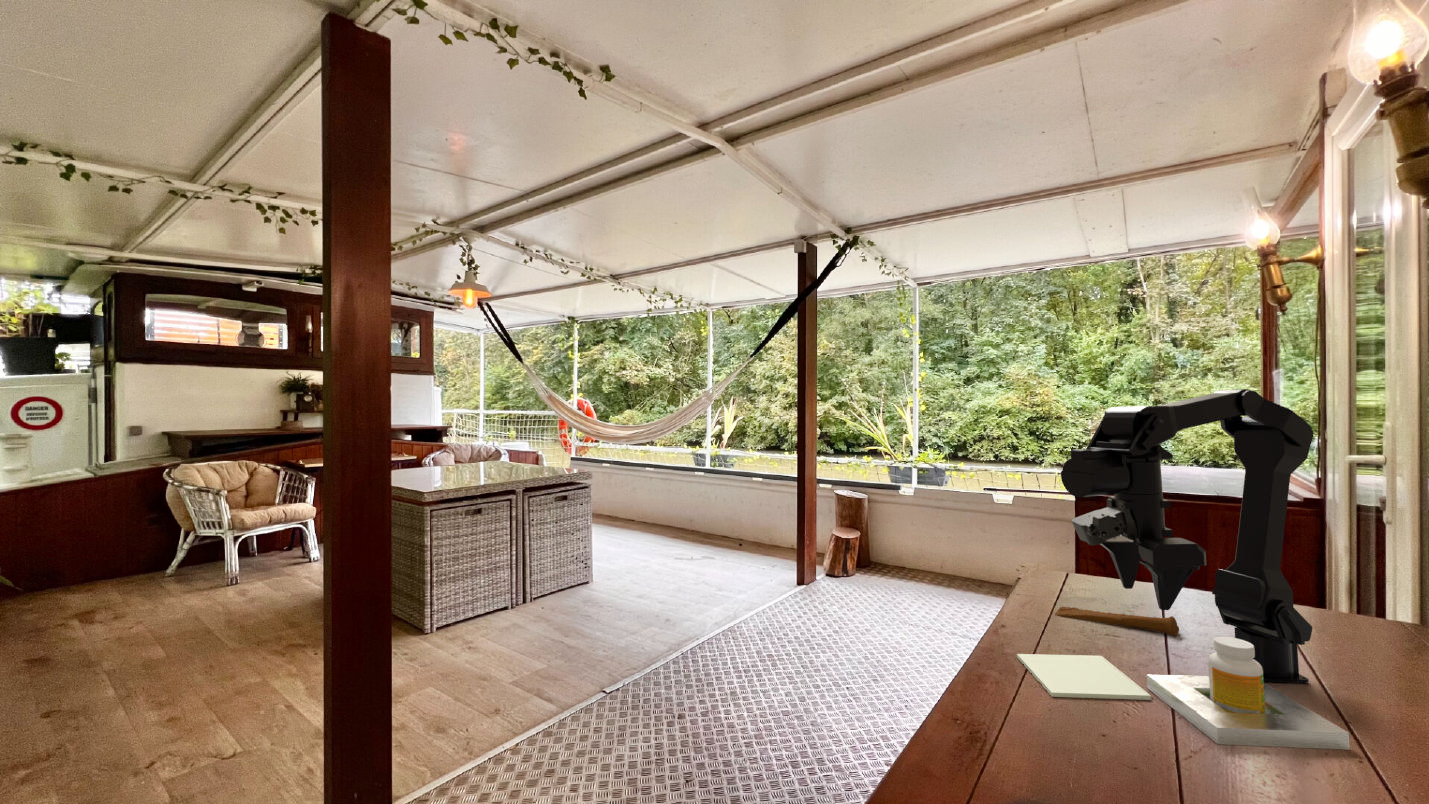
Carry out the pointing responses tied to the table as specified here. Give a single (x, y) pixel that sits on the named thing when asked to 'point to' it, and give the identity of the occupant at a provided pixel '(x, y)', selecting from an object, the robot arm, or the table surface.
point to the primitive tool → (1123, 620)
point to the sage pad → (1081, 677)
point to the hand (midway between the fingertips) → (1145, 598)
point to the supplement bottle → (1236, 677)
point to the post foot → (1248, 717)
